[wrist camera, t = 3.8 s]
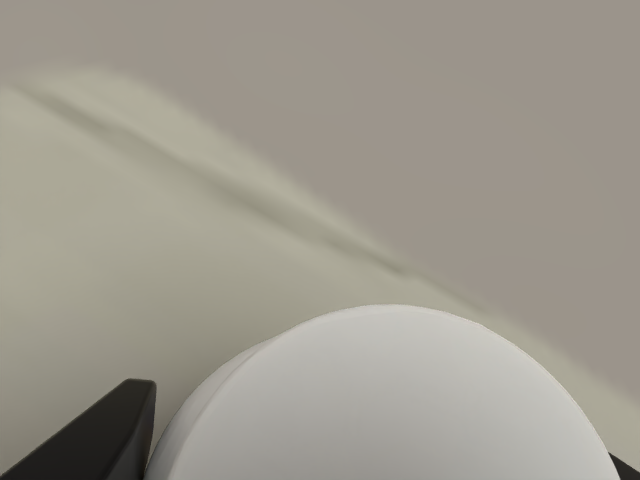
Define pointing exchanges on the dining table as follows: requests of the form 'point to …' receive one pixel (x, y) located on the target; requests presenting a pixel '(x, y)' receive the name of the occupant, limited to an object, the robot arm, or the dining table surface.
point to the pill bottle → (381, 407)
